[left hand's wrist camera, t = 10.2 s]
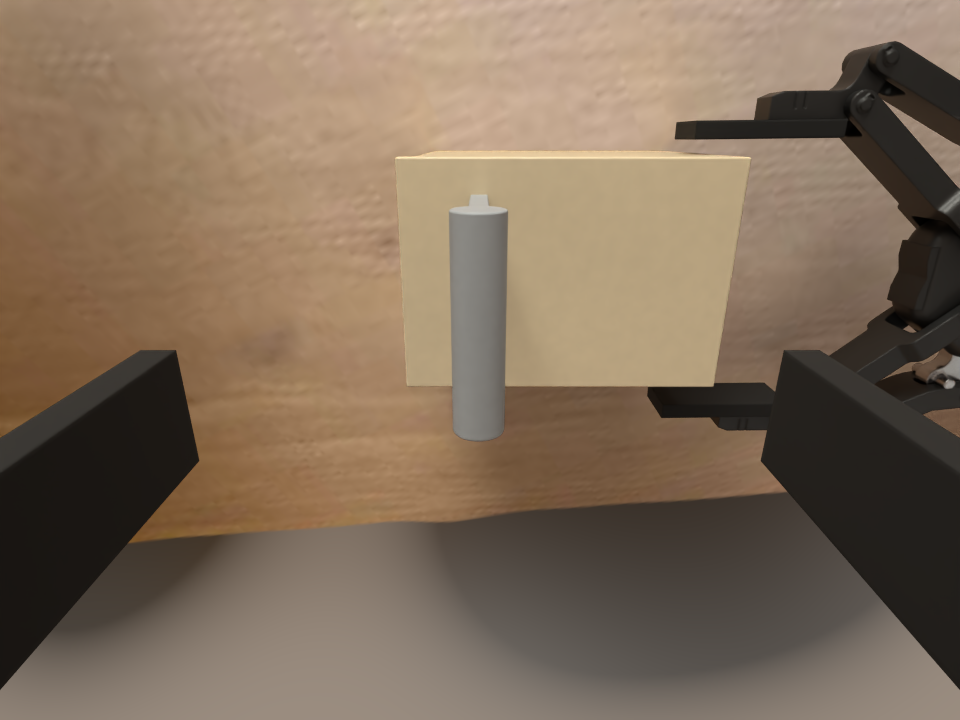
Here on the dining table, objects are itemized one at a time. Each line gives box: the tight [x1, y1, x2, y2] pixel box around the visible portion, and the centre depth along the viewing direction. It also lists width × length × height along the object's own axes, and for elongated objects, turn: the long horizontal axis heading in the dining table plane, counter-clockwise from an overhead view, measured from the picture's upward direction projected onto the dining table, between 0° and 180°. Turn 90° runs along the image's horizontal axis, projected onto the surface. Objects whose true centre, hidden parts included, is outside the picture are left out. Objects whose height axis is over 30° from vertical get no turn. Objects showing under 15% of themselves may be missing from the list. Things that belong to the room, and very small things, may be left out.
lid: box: [395, 157, 751, 441], centre depth 21 cm, size 14×10×8 cm
